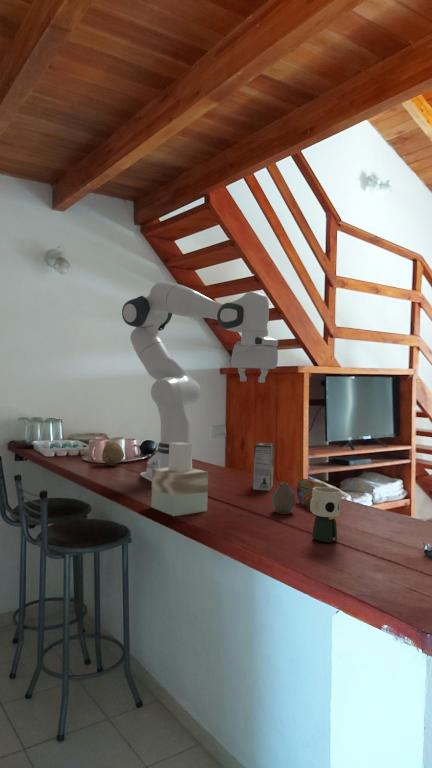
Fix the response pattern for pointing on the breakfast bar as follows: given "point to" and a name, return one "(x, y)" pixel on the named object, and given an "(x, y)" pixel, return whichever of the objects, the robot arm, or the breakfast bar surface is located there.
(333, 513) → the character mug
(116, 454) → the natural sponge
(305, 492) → the tin
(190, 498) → the tower base
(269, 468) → the coffee box
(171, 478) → the tower top
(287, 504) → the vase
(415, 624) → the breakfast bar surface
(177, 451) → the offwhite block
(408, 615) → the breakfast bar surface
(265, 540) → the breakfast bar surface
